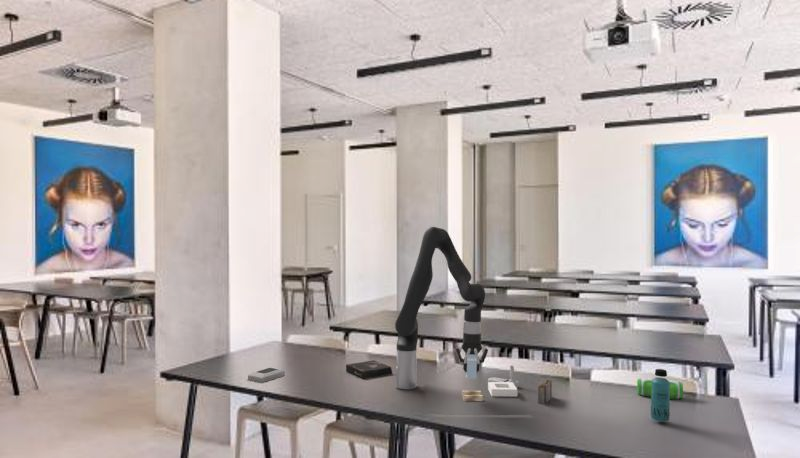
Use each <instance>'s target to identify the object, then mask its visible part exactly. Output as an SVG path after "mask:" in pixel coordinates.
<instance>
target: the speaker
mask: <svg viewBox="0 0 800 458" xmlns="http://www.w3.org/2000/svg"><path fill="white" fill-rule="evenodd" d="M653 379H654V378H648V377H647V378H645V377H643V378H642V377H640V378H637V381H636V383H637V385H636V387H637V388H636V389H637V391H636V392H637V394H638V395H640V396H645V397H649V398H651V397H652V380H653ZM667 380H668V381H669V382H670V399H677V400H678V399H683V397H684V385H683V382H681V381H678V380H673V379H672V380H671V379H670V380H669V379H667Z"/></svg>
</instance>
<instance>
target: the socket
mask: <svg viewBox="0 0 800 458" xmlns="http://www.w3.org/2000/svg"><path fill="white" fill-rule="evenodd" d="M487 390H488V391H489V394H490V396H491V397H505V398H506V397H512V398H513V397H516V398H517V397H518V388H516V387H515V385H514V384H513V382H488V381H487Z"/></svg>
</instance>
